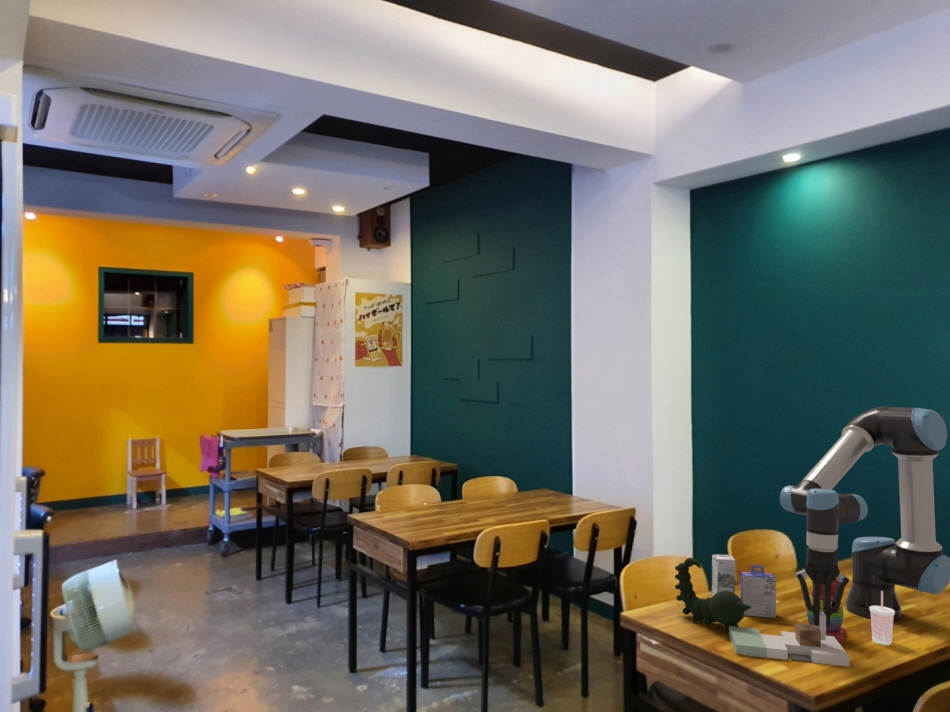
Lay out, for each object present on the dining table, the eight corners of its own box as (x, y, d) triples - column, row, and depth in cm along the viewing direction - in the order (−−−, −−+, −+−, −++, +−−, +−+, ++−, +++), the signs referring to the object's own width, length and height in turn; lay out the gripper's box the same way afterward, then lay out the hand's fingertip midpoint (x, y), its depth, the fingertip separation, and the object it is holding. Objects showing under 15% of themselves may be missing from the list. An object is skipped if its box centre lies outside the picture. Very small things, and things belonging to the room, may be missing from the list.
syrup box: (728, 598, 226) (729, 554, 227) (735, 604, 221) (735, 558, 221) (711, 598, 227) (711, 553, 227) (717, 604, 221) (717, 558, 221)
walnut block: (815, 640, 185) (815, 625, 185) (820, 647, 180) (820, 631, 180) (795, 638, 186) (795, 623, 186) (800, 645, 181) (800, 629, 181)
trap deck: (833, 645, 188) (833, 636, 188) (849, 666, 174) (849, 656, 174) (729, 635, 194) (729, 626, 194) (736, 654, 180) (736, 644, 180)
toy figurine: (670, 621, 209) (741, 641, 188) (667, 557, 211) (736, 570, 190) (691, 616, 214) (762, 635, 193) (687, 553, 216) (758, 565, 195)
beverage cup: (888, 647, 187) (888, 595, 187) (865, 640, 192) (865, 589, 192) (898, 643, 191) (898, 592, 191) (875, 636, 196) (875, 586, 196)
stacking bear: (844, 645, 188) (845, 579, 189) (803, 637, 194) (804, 573, 194) (847, 633, 197) (848, 570, 198) (808, 625, 203) (809, 564, 203)
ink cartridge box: (773, 612, 213) (773, 565, 214) (777, 618, 208) (777, 570, 208) (739, 609, 215) (739, 563, 216) (742, 615, 210) (743, 568, 210)
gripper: (844, 546, 185) (844, 635, 184) (792, 543, 188) (791, 630, 187) (853, 553, 178) (852, 646, 177) (798, 549, 180) (798, 641, 180)
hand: (821, 638), depth 182 cm, fingers closed
